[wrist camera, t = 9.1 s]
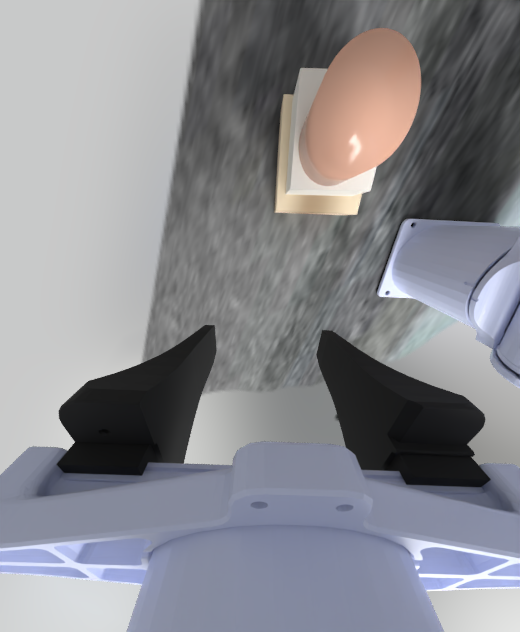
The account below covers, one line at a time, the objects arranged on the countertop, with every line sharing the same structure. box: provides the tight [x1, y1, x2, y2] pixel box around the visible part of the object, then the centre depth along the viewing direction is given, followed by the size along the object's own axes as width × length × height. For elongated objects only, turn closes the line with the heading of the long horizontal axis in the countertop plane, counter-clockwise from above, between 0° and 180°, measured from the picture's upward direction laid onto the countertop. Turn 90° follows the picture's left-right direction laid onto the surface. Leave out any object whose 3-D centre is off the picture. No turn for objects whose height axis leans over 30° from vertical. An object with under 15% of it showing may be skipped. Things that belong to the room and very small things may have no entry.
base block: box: [274, 94, 362, 215], centre depth 16 cm, size 7×7×3 cm
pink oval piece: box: [299, 28, 421, 186], centre depth 10 cm, size 4×4×4 cm
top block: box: [286, 68, 377, 196], centre depth 13 cm, size 6×6×3 cm
